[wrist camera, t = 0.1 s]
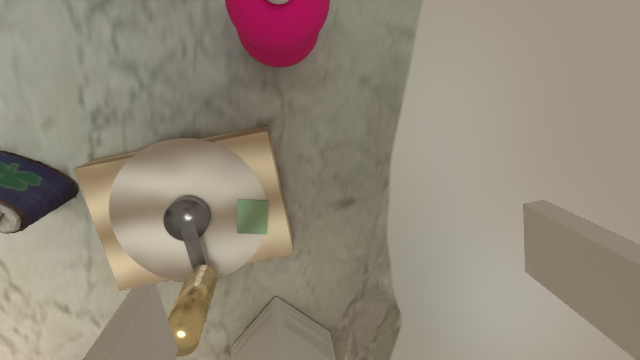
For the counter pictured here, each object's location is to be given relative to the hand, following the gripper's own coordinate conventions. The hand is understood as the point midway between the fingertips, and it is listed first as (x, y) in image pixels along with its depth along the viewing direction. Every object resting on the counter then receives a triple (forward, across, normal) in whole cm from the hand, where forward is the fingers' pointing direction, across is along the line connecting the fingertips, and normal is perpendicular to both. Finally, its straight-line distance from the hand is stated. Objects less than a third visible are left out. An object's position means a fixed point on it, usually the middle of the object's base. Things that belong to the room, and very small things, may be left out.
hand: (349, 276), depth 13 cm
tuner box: (+28, -12, -4) cm, 31 cm away
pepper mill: (+28, 0, +11) cm, 30 cm away
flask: (+28, -27, +2) cm, 39 cm away
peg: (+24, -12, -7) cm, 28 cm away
